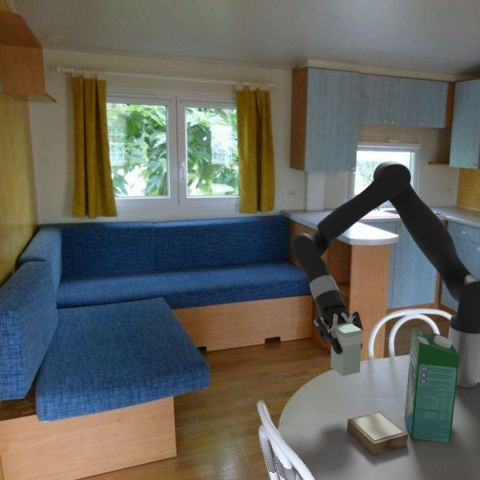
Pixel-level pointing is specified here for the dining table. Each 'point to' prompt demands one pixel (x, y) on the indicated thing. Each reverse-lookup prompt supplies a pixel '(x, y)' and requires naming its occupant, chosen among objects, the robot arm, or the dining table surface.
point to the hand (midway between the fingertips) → (350, 351)
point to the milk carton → (431, 387)
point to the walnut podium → (377, 433)
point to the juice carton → (347, 350)
